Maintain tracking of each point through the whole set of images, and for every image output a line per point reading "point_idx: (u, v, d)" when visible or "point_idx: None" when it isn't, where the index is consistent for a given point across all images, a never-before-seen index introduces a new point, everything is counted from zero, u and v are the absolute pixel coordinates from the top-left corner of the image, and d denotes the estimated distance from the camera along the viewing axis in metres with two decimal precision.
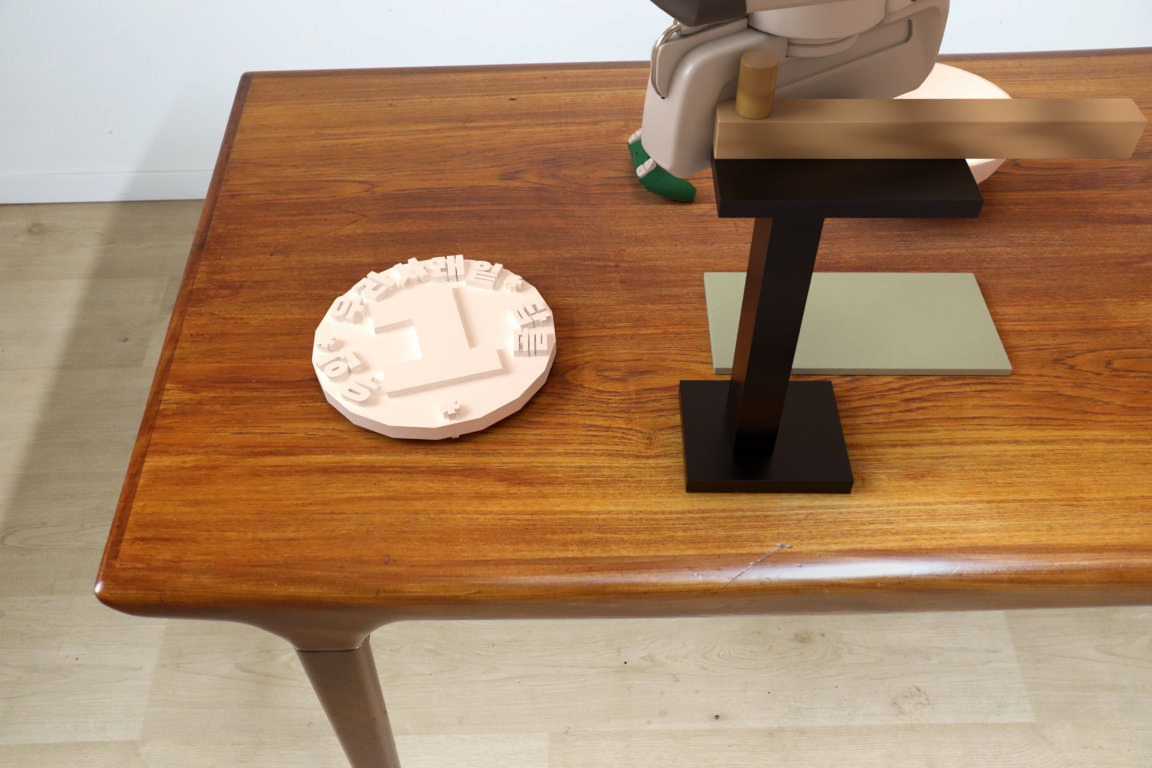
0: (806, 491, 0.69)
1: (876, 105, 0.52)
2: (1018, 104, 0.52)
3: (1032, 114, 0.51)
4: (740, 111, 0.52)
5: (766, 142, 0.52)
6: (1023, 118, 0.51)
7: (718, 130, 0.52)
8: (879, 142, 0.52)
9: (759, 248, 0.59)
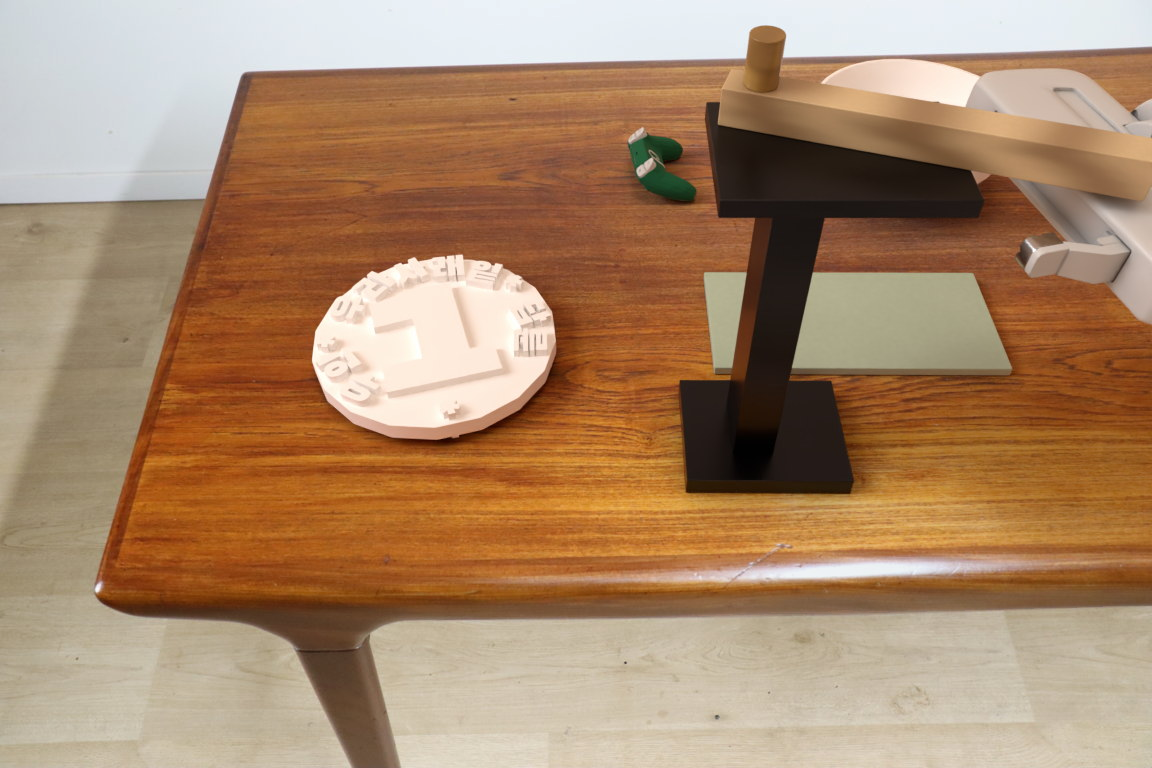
0: (806, 491, 0.69)
1: (883, 100, 0.53)
2: (1031, 124, 0.51)
3: (1039, 135, 0.50)
4: (745, 82, 0.54)
5: (766, 116, 0.54)
6: (1027, 137, 0.50)
7: (721, 96, 0.54)
8: (876, 136, 0.52)
9: (759, 248, 0.59)
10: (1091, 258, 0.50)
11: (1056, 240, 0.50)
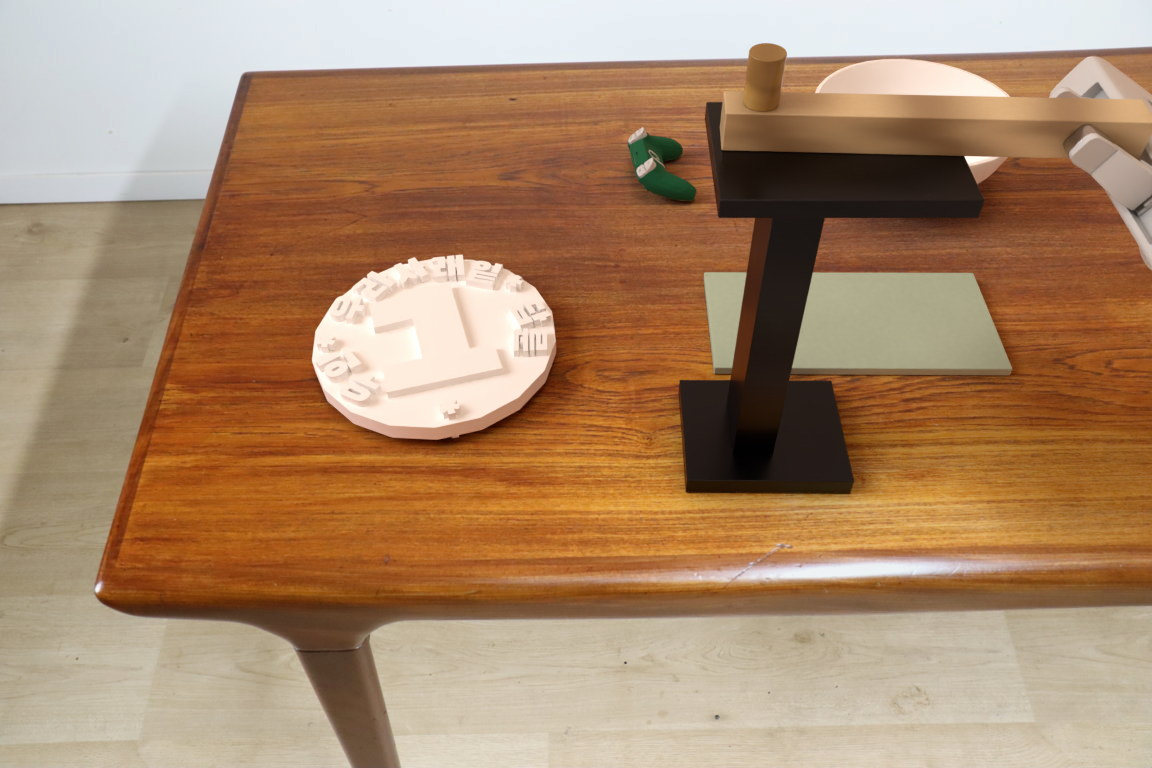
0: (806, 491, 0.69)
1: (884, 100, 0.53)
2: (1027, 103, 0.52)
3: (1040, 113, 0.51)
4: (747, 103, 0.52)
5: (772, 135, 0.53)
6: (1031, 116, 0.51)
7: (725, 121, 0.52)
8: (885, 137, 0.52)
9: (759, 248, 0.59)
10: (1131, 169, 0.51)
11: (1109, 139, 0.51)
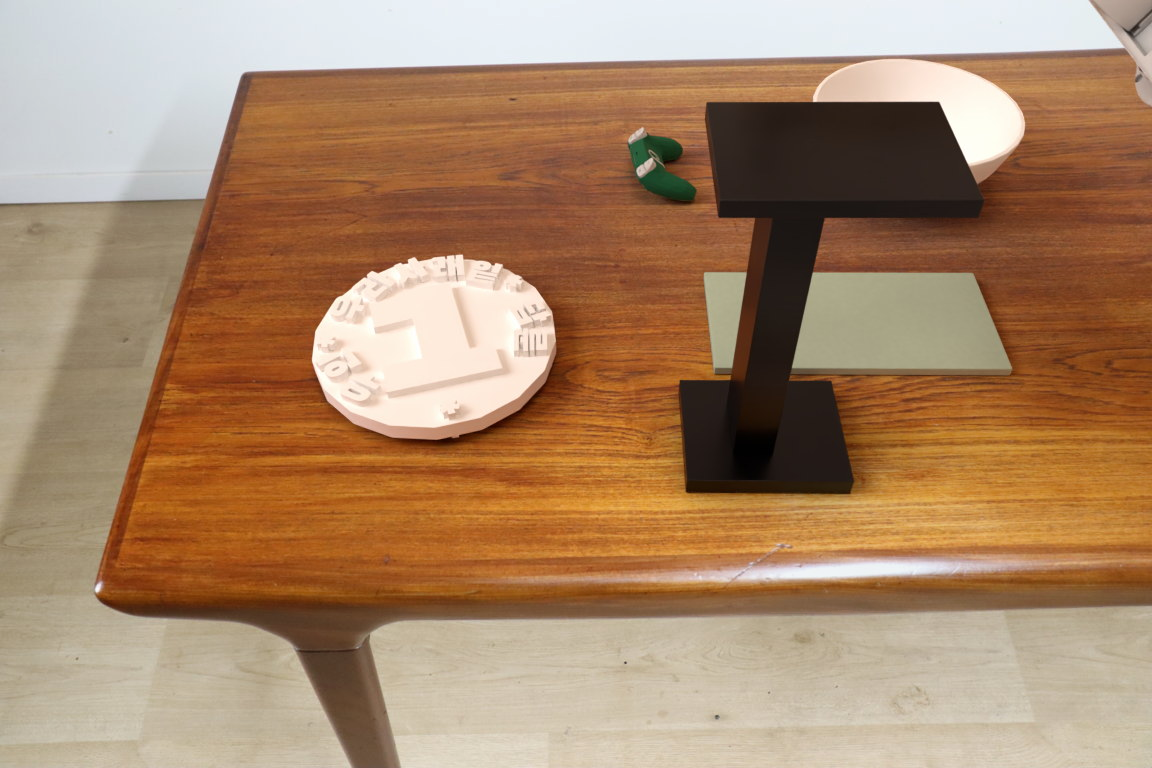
0: (806, 491, 0.69)
1: None
2: None
3: None
4: None
5: None
6: None
7: None
8: None
9: (759, 248, 0.59)
10: None
11: None
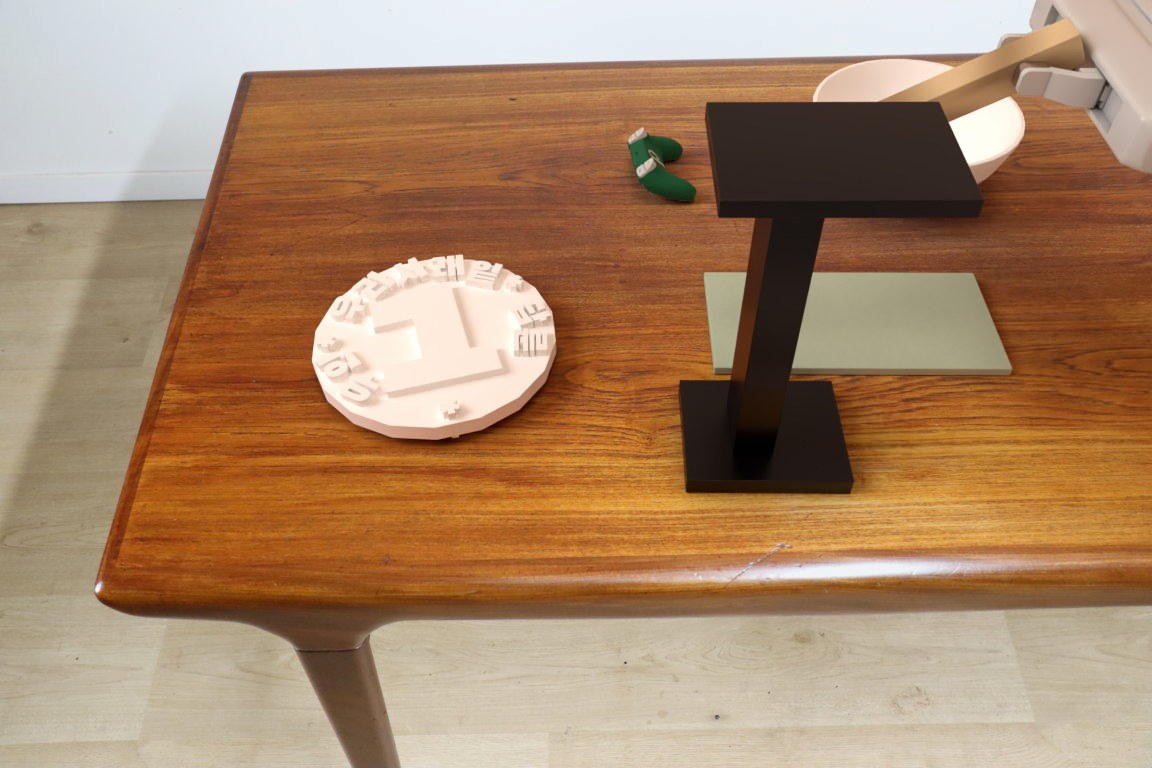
0: (806, 491, 0.69)
1: None
2: (971, 65, 0.64)
3: (982, 70, 0.63)
4: None
5: None
6: (975, 76, 0.63)
7: None
8: None
9: (759, 248, 0.59)
10: (1070, 81, 0.61)
11: (1044, 65, 0.62)
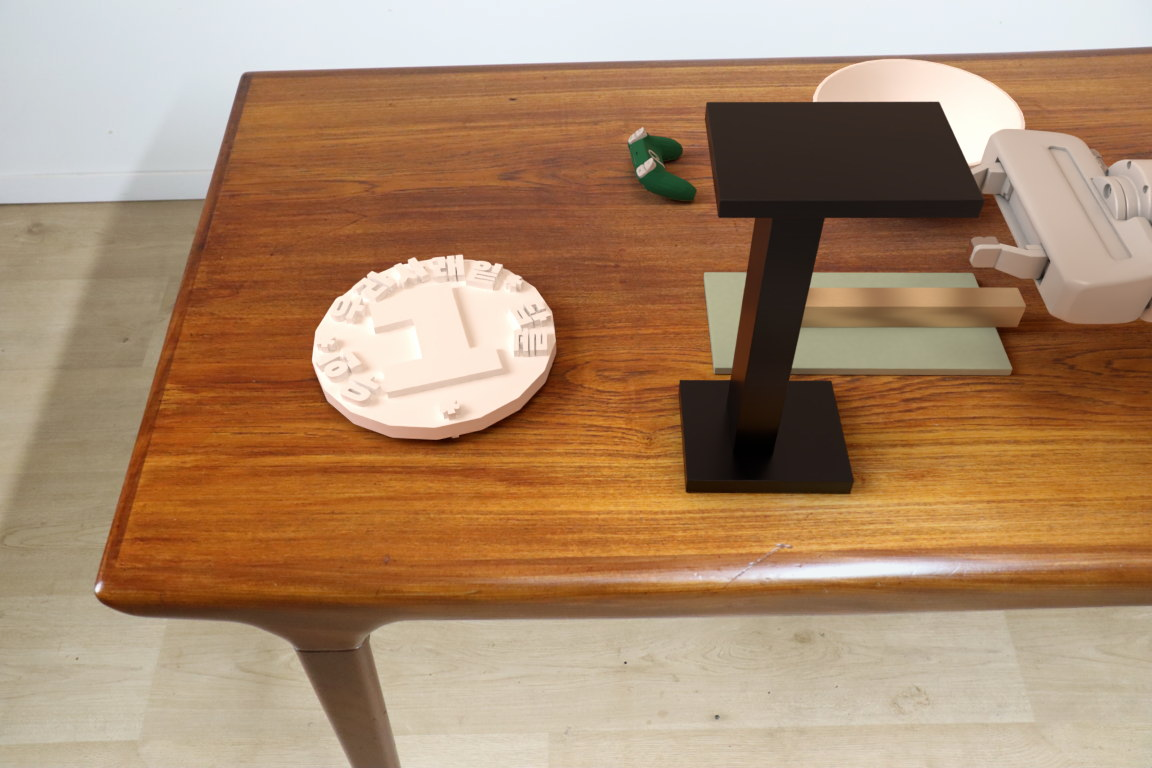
0: (806, 491, 0.69)
1: (850, 293, 0.79)
2: (943, 292, 0.79)
3: (951, 301, 0.79)
4: None
5: None
6: (945, 303, 0.78)
7: None
8: (851, 318, 0.79)
9: (759, 248, 0.59)
10: (1017, 257, 0.69)
11: (995, 242, 0.70)
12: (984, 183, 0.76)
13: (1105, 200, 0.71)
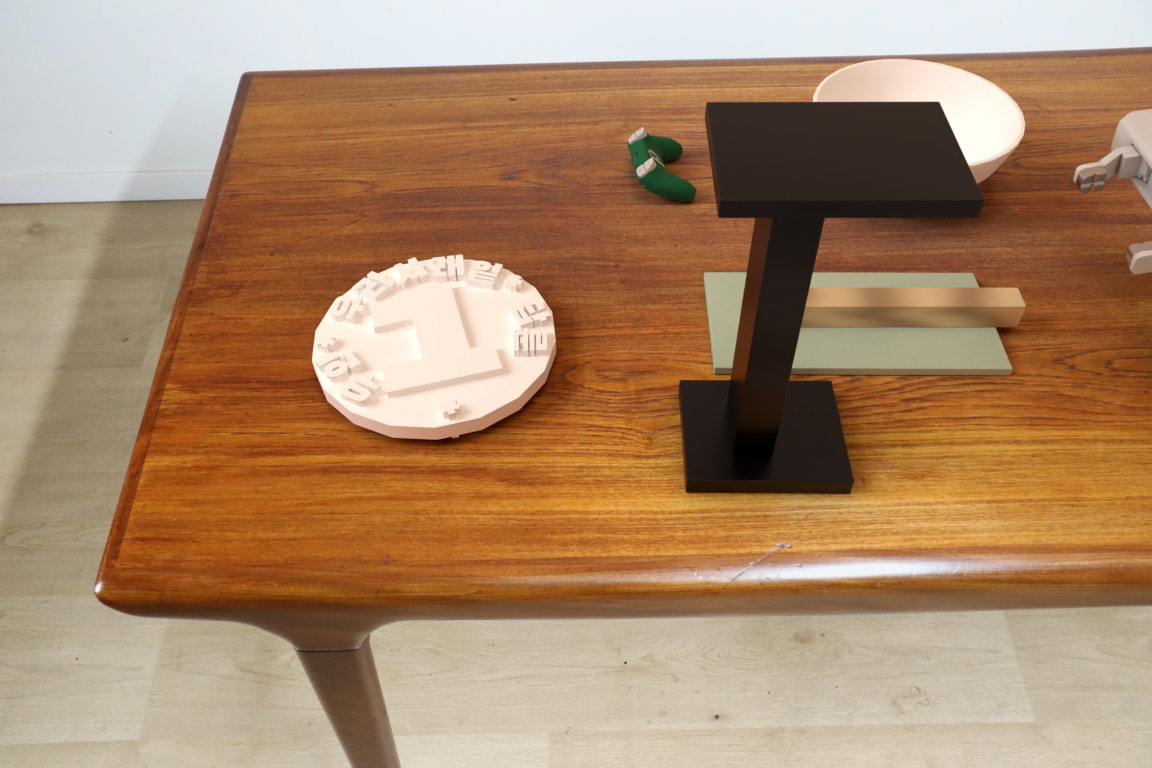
0: (806, 491, 0.69)
1: (850, 293, 0.79)
2: (943, 292, 0.79)
3: (951, 301, 0.79)
4: None
5: None
6: (945, 303, 0.78)
7: None
8: (851, 318, 0.79)
9: (759, 248, 0.59)
10: None
11: None
12: (1119, 168, 0.75)
13: None
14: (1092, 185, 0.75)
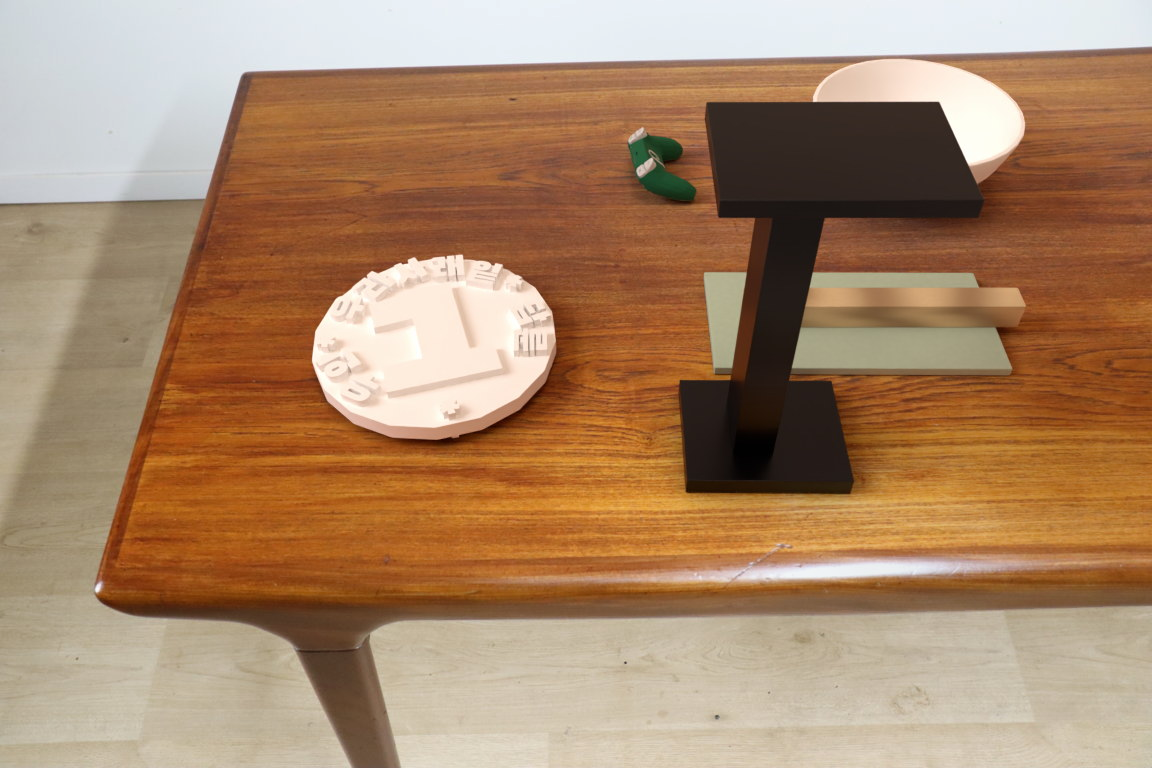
0: (806, 491, 0.69)
1: (850, 293, 0.79)
2: (943, 292, 0.79)
3: (951, 301, 0.79)
4: None
5: None
6: (945, 303, 0.78)
7: None
8: (851, 318, 0.79)
9: (759, 248, 0.59)
10: None
11: None
12: None
13: None
14: None
